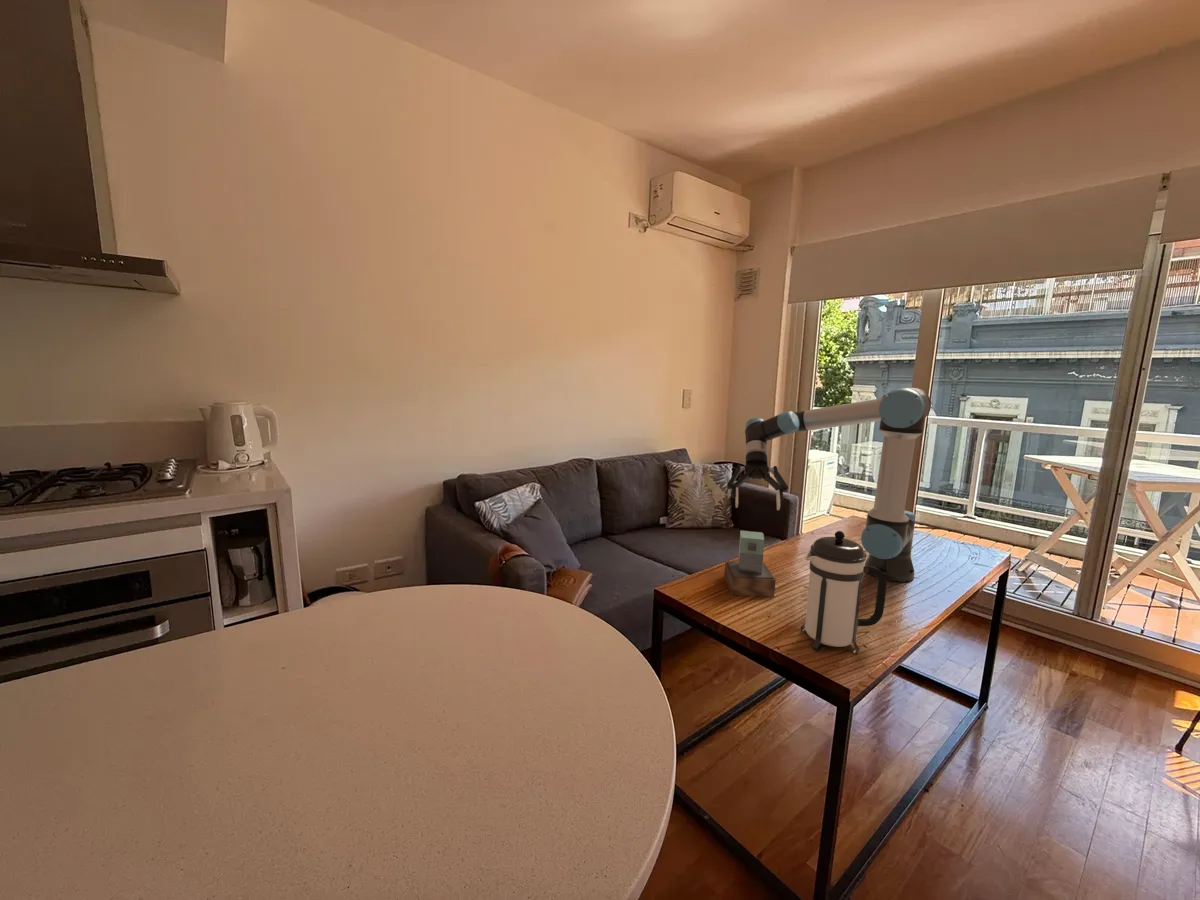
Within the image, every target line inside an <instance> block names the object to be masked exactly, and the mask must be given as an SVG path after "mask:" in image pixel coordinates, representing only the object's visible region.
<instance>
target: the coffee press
mask: <svg viewBox="0 0 1200 900" xmlns="http://www.w3.org/2000/svg"><path fill="white" fill-rule="evenodd" d="M804 560H805V561H809V569H810V570H809V580H808V590H807V600H806V601H807V602H806V610H805V611H806V612H805V621H804V623H803V624H802V625H801V626H800V630H801V631H802V632H805V633H807V635H808V636H809V637H810V638H811V639H813V640H814V642H813V645H812V650H813V651H816V652H820V651H821V648H822V647H823V645H824V646H825V645H826V646H829V647H835V648H836V647H837V648H839V647H840V648H841V647H847V648H848V649H849V650H850V651H851V653H852V652H854V651H856V652H855V653H856V654H857V653H858V652H860V647H859V645H858V644H857V641H856V639H857V631H858V627H870V626H874V625H875V624H877V623H878V622H879V621H880V620H881V619H882V617H883V614H884V609H885V604H886V603H885V602H886V596H887V595H886V594H887V580H886V578H885V576H884V574H883V573H882V572H881V571H880V570H879V569H878V568H875V567H872V566H865V561H866V560H867V554H866V551H865V549H864V547H863V546H862V545H860V544H859V543H857V542H855V541H854V540H851V539H848V538H845V533H844V532H843V531H841V530H837V531H835V533H834V535H833V536H824V537H820V538H818V539H816V540H814V542H813V544H811V545H810V550H809V551H808V553H807V554H806V556H805V559H804ZM865 574H869V575H871V574H874V575H876V577H875V578H876V579H877V589H876V599H875V606H874V611H873V613H872V614H871V616H870V617H868V618H859V611H860V602H861V593H862V585H863V584H862V583H863V578H864V575H865ZM852 644H853V646H852ZM854 648H855V649H854Z"/></svg>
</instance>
